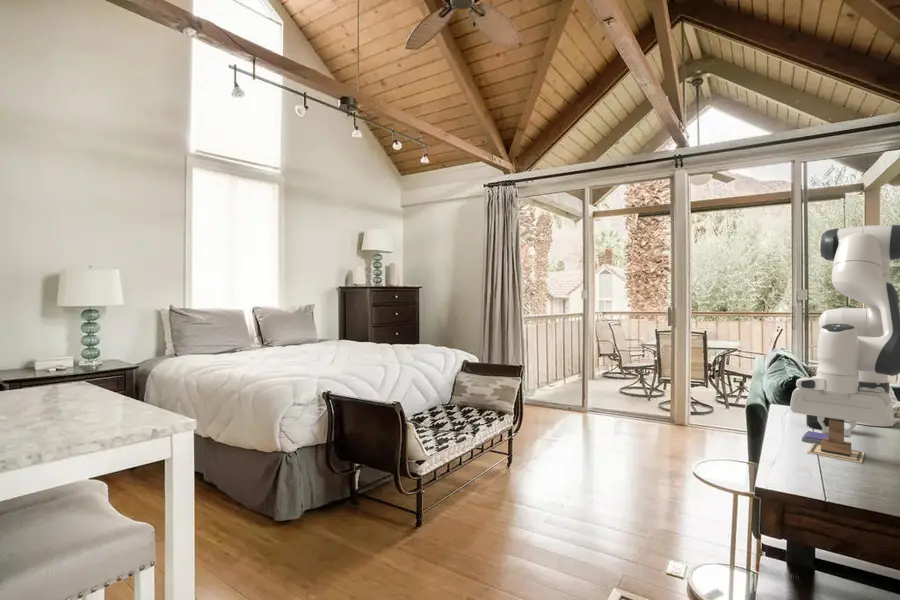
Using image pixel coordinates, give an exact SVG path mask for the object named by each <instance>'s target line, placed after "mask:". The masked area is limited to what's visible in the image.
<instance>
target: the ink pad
mask: <svg viewBox="0 0 900 600" xmlns="http://www.w3.org/2000/svg"><path fill="white" fill-rule="evenodd" d="M823 438H828V439H829V434H824V433H822V432H818V431H817V432H816V431H812V430H807V431H806V432H805V433H804V435H802V437H801V442H803V441H805V442H804V443H809V442H811V443H810V444H813V443H816V444H821V441H822V439H823Z"/></svg>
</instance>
